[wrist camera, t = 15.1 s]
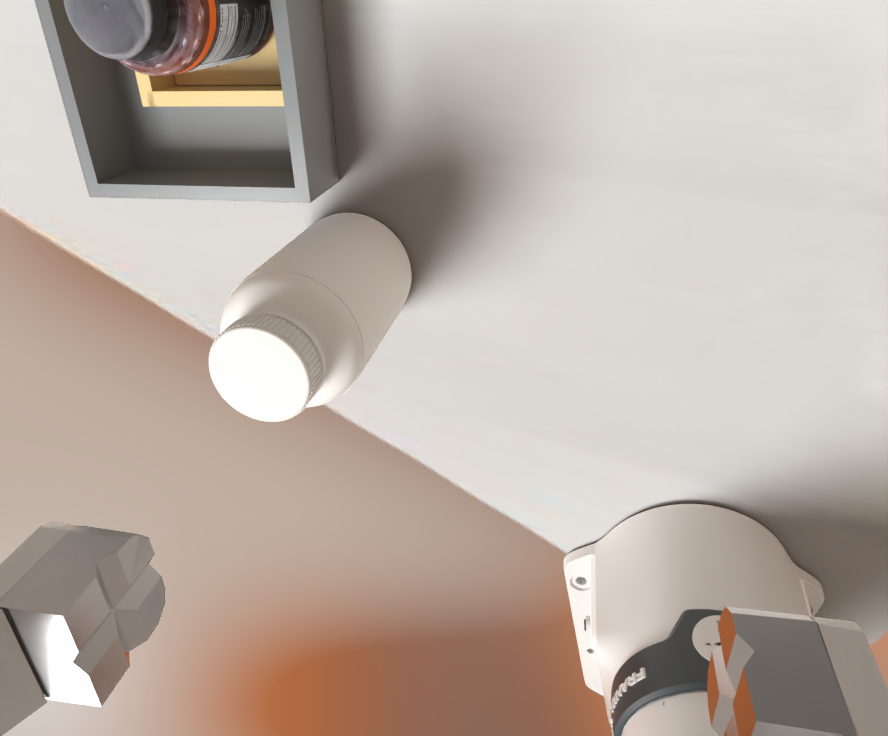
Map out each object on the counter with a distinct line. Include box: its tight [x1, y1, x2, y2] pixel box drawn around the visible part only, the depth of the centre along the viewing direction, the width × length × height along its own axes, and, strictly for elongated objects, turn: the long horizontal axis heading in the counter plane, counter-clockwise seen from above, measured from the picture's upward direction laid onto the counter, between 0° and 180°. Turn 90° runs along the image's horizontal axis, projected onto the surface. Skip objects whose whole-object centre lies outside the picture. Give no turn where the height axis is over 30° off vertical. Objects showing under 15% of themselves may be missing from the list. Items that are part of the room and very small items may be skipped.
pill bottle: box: [209, 213, 412, 422], centre depth 39 cm, size 8×8×15 cm
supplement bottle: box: [64, 0, 274, 76], centre depth 33 cm, size 6×6×11 cm
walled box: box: [35, 0, 339, 203], centre depth 38 cm, size 15×14×5 cm
